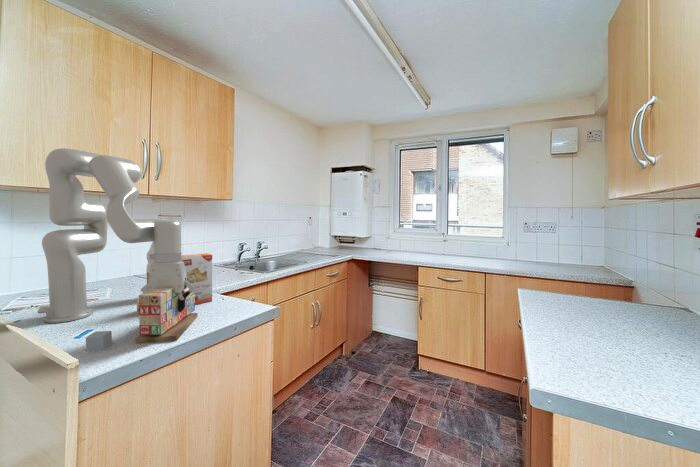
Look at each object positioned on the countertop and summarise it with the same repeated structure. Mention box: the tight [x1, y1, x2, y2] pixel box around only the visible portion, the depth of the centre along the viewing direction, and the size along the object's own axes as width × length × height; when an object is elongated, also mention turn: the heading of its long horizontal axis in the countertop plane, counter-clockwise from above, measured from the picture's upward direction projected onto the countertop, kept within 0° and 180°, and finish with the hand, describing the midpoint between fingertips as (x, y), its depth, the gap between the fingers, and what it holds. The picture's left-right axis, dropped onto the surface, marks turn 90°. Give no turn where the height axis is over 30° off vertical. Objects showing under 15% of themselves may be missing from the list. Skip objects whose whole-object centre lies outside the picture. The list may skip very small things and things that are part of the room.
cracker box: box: [181, 252, 213, 305], centre depth 119 cm, size 14×6×21 cm, turn 137°
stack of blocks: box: [138, 287, 196, 335], centre depth 94 cm, size 21×6×12 cm, turn 4°
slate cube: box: [85, 330, 113, 352], centre depth 80 cm, size 4×4×4 cm
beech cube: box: [136, 298, 139, 317], centre depth 108 cm, size 5×5×5 cm
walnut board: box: [134, 312, 198, 344], centre depth 94 cm, size 11×20×2 cm, turn 12°
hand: (169, 310), depth 94 cm, fingers closed on stack of blocks, 6 cm apart
